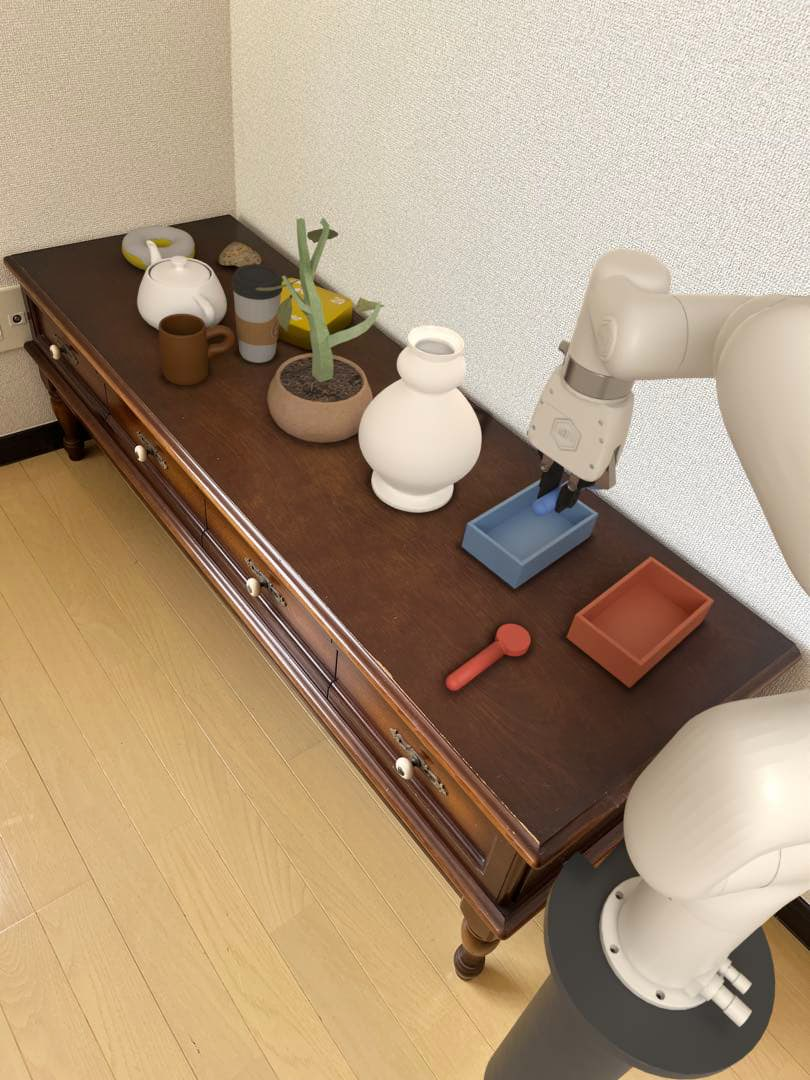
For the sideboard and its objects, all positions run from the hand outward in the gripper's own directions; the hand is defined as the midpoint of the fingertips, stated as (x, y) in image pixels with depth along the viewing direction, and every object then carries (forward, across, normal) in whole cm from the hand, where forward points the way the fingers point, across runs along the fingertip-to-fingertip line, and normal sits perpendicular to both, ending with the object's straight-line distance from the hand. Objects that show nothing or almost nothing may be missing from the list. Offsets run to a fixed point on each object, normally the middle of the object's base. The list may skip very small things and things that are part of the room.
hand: (555, 500), depth 98 cm
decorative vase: (+18, -26, +4) cm, 32 cm away
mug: (+19, -68, -6) cm, 70 cm away
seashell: (+19, -97, +23) cm, 101 cm away
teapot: (+19, -84, +1) cm, 86 cm away
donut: (+19, -106, +10) cm, 108 cm away
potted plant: (+18, -50, +4) cm, 53 cm away
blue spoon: (+1, 0, +3) cm, 3 cm away
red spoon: (+18, +4, -12) cm, 22 cm away
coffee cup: (+19, -68, +6) cm, 70 cm away
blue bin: (+18, -7, +9) cm, 21 cm away
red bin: (+18, +13, +8) cm, 23 cm away
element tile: (+19, -72, +19) cm, 76 cm away
